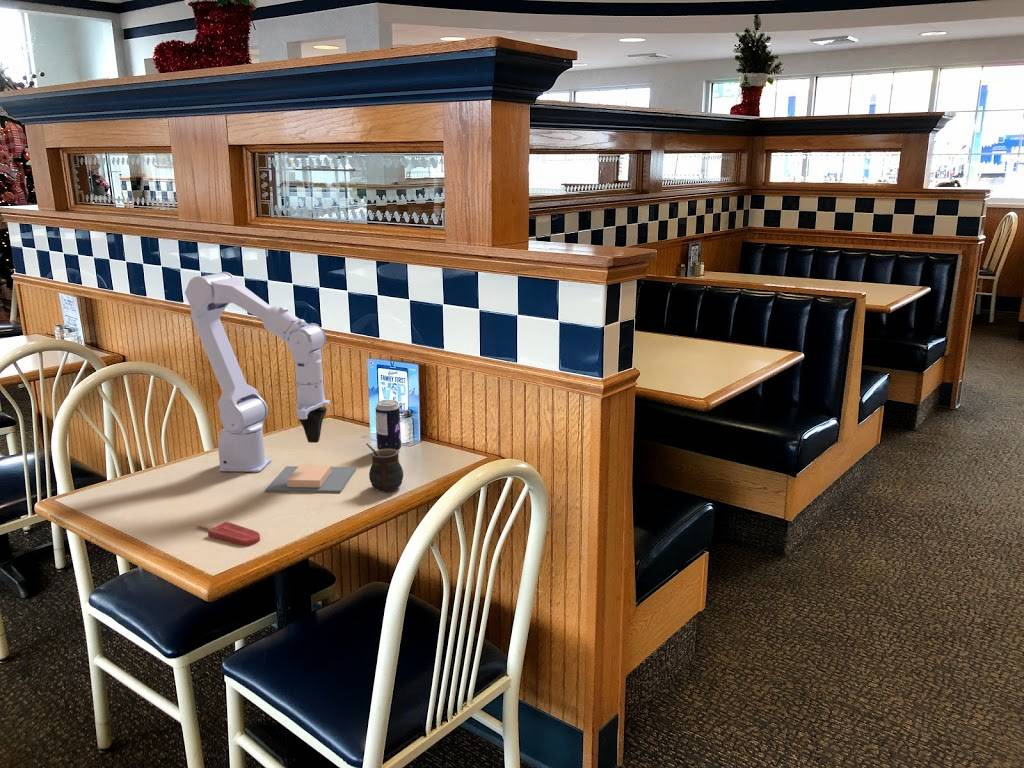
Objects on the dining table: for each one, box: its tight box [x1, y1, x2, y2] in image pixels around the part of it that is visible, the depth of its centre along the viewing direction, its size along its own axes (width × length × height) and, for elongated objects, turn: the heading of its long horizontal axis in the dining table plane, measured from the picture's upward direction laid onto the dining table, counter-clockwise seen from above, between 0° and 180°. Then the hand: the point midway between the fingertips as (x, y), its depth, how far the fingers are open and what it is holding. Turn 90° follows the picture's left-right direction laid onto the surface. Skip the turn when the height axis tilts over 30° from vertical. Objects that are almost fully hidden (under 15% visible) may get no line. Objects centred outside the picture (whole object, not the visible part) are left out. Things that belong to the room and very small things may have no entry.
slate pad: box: [264, 465, 357, 494], centre depth 178 cm, size 16×14×1 cm
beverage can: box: [374, 399, 402, 452], centre depth 196 cm, size 6×6×12 cm
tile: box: [287, 464, 332, 488], centre depth 177 cm, size 7×2×9 cm
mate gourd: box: [365, 442, 404, 493], centre depth 172 cm, size 7×8×10 cm
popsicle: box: [197, 521, 261, 547], centre depth 151 cm, size 4×2×15 cm
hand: (313, 441), depth 179 cm, fingers closed
